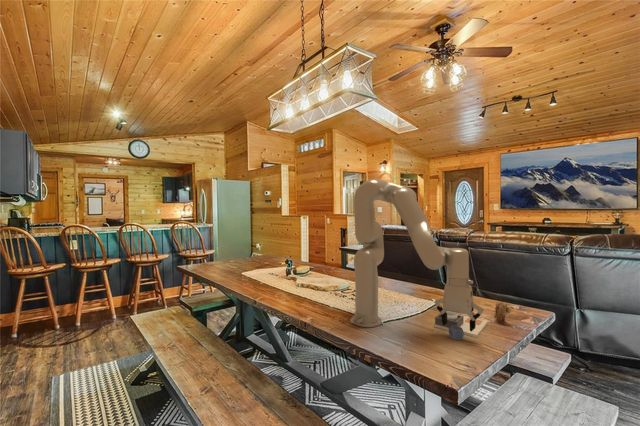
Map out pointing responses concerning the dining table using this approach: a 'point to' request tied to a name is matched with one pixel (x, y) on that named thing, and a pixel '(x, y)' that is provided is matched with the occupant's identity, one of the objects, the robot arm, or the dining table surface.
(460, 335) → the decorative dice
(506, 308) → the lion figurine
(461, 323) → the game board
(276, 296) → the dining table surface
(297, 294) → the dining table surface
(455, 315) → the dome button
